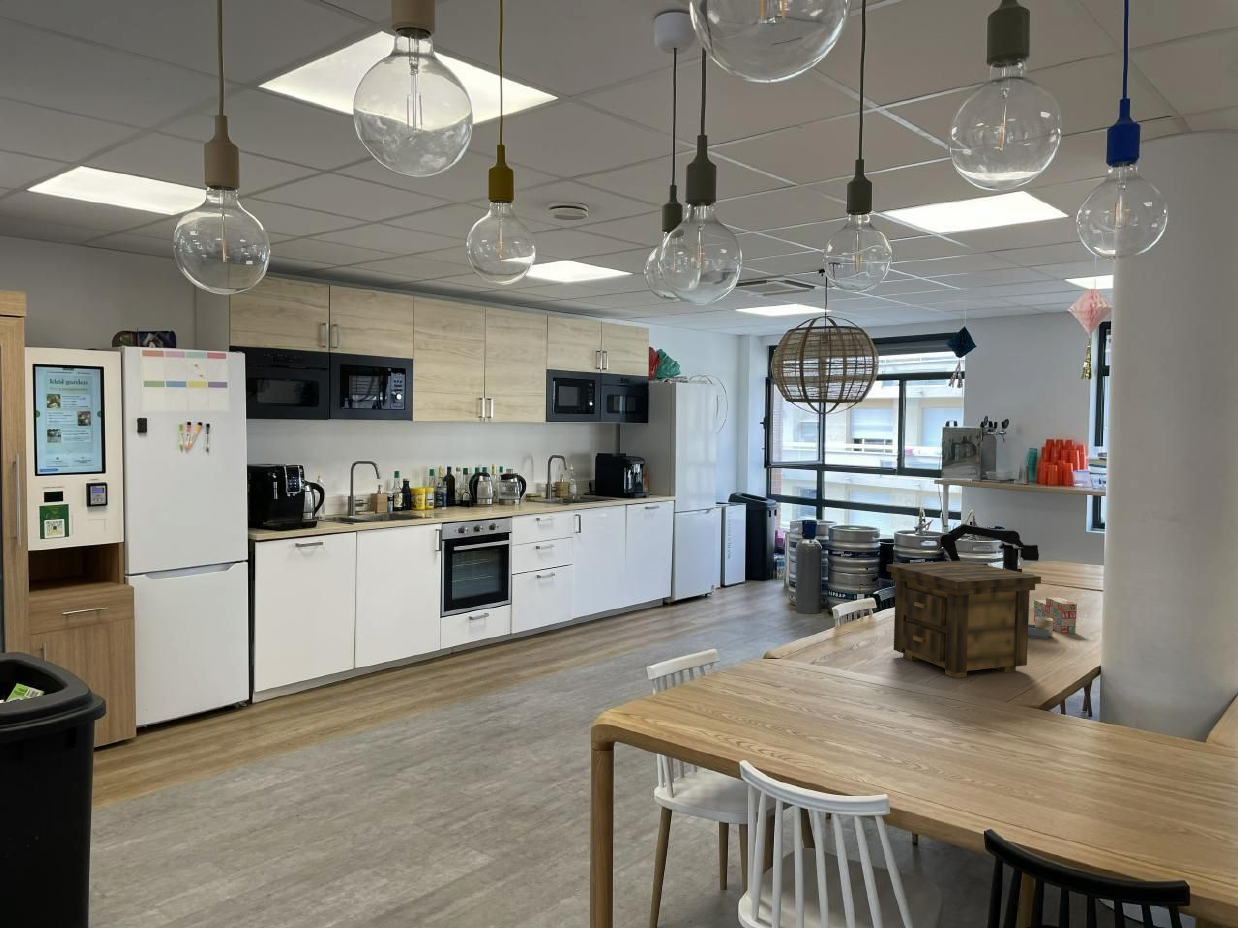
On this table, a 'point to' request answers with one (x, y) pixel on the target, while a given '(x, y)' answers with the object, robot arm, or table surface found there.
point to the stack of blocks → (1057, 613)
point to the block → (1044, 624)
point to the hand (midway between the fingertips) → (1009, 597)
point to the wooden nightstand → (962, 615)
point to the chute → (1037, 632)
